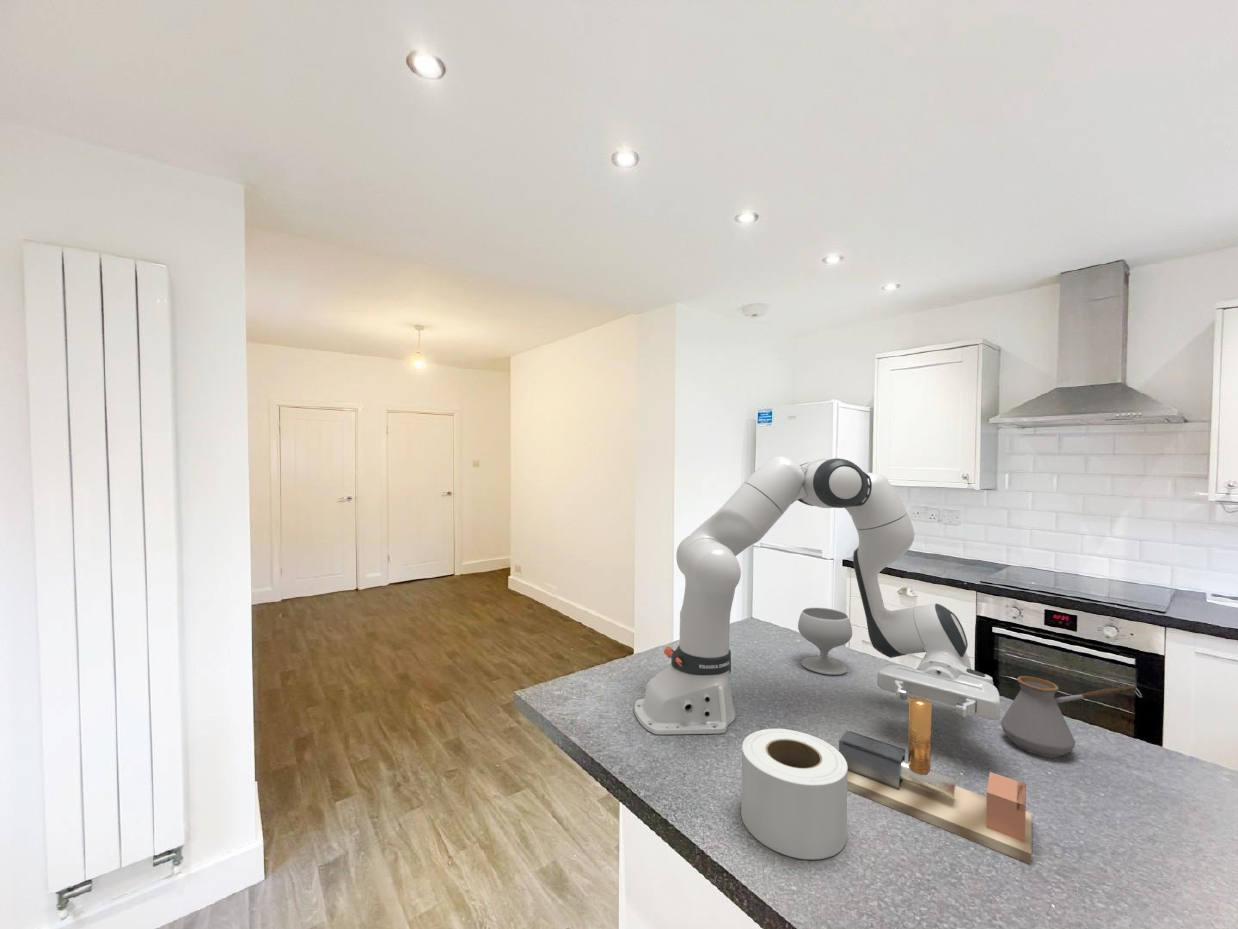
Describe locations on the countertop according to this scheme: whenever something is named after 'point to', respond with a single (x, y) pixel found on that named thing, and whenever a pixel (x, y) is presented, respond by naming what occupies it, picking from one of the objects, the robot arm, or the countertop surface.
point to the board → (945, 812)
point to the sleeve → (872, 758)
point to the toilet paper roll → (794, 793)
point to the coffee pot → (1044, 717)
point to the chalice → (824, 637)
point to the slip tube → (923, 752)
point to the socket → (1006, 806)
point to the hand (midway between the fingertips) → (930, 703)
